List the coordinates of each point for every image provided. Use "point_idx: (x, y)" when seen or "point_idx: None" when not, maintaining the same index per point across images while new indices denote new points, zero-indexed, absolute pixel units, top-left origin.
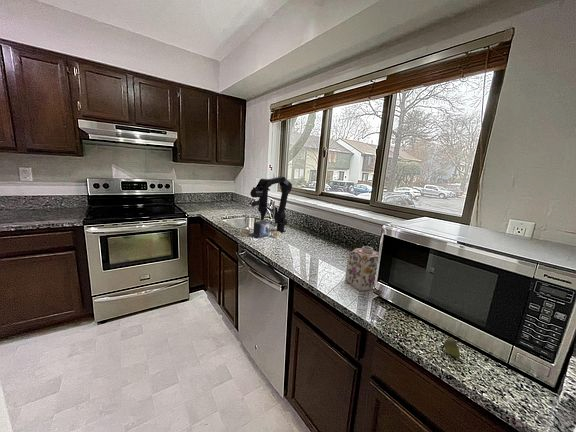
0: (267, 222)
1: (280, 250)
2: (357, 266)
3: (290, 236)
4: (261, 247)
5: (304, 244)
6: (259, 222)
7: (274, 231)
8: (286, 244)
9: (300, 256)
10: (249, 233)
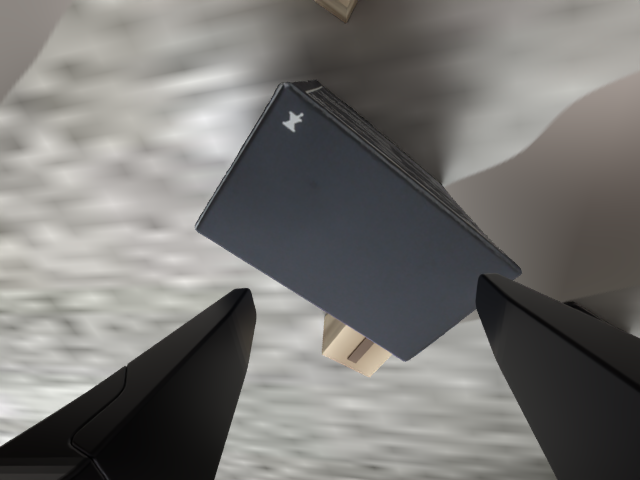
0: (389, 334)
1: (39, 338)
2: None
3: (404, 403)
4: (9, 214)
5: (237, 454)
6: (319, 206)
7: None
8: None
9: (15, 420)
10: (339, 13)
